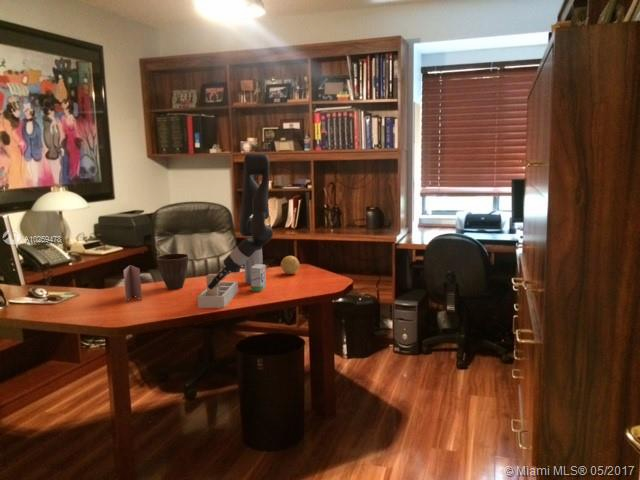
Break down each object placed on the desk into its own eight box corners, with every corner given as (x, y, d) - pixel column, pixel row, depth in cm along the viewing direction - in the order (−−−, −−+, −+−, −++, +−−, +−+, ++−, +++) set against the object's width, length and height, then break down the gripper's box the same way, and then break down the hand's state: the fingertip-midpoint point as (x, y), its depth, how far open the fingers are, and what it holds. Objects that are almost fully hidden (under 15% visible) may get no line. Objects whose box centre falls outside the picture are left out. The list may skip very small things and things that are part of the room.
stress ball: (291, 273, 296) (276, 262, 294) (302, 260, 295) (288, 249, 292) (292, 280, 287) (277, 269, 284) (303, 266, 285) (288, 256, 282)
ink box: (256, 287, 265) (255, 263, 263) (266, 287, 263) (265, 263, 262) (250, 291, 256) (249, 267, 254) (261, 292, 255) (260, 267, 253)
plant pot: (192, 289, 263) (189, 257, 260) (160, 293, 258) (157, 260, 255) (188, 283, 277) (186, 252, 274) (158, 286, 272) (156, 255, 269)
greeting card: (130, 295, 255) (128, 264, 252) (146, 295, 256) (144, 264, 253) (124, 302, 244) (121, 270, 241) (141, 301, 244) (138, 269, 242)
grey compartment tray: (214, 292, 258) (214, 281, 257) (238, 291, 257) (237, 281, 256) (198, 307, 232) (197, 296, 231) (224, 307, 231) (223, 296, 230)
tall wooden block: (210, 296, 238) (209, 274, 236) (220, 296, 238) (218, 273, 236) (207, 298, 234) (206, 276, 232) (217, 298, 233) (216, 276, 232)
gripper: (234, 250, 239) (209, 277, 242) (226, 256, 225) (199, 284, 228) (246, 261, 239) (221, 288, 242) (239, 268, 225) (212, 296, 228)
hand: (211, 286), depth 235 cm, fingers closed on tall wooden block, 4 cm apart
